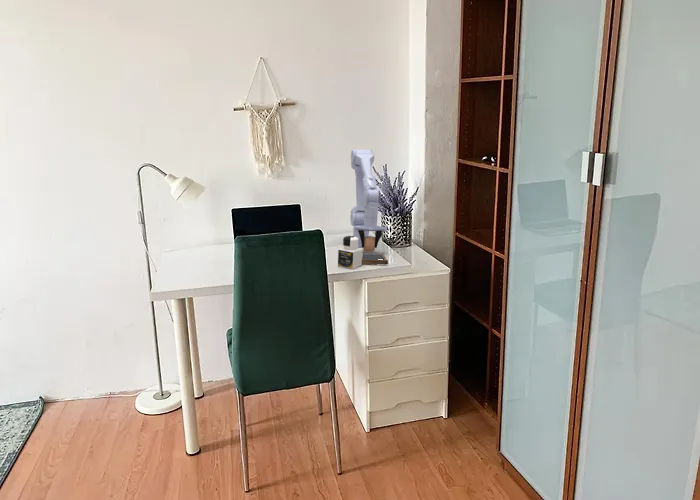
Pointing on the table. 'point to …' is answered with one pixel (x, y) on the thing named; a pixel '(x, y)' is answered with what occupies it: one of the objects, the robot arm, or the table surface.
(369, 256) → the plate
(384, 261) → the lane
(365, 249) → the terracotta jar
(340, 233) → the table surface
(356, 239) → the medicine bottle
